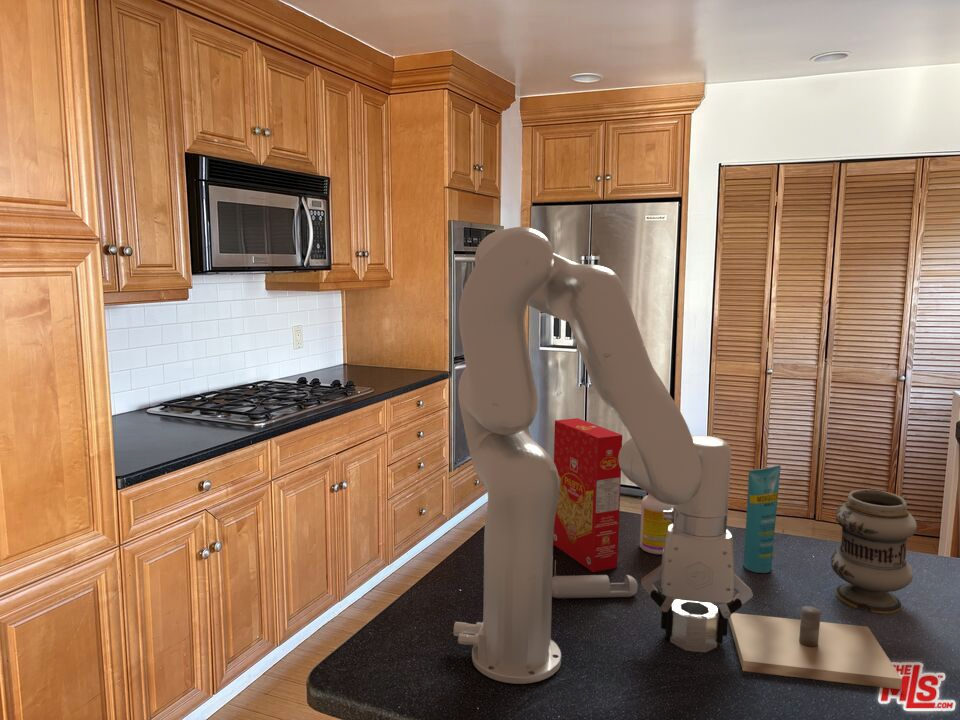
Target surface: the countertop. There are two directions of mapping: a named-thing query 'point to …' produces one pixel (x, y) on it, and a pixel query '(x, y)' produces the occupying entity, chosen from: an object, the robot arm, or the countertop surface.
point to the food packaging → (587, 493)
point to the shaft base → (812, 649)
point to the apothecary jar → (873, 550)
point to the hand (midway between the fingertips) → (693, 635)
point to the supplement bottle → (653, 525)
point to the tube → (761, 518)
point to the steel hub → (694, 625)
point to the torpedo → (591, 586)
